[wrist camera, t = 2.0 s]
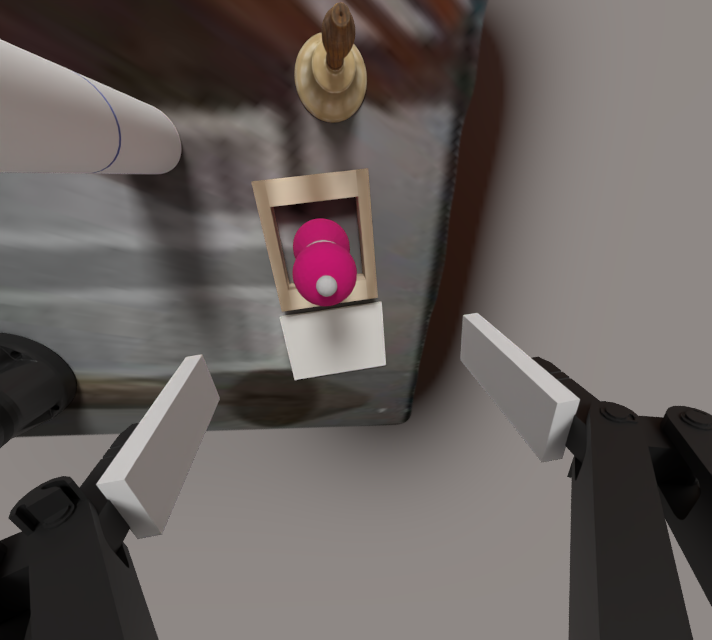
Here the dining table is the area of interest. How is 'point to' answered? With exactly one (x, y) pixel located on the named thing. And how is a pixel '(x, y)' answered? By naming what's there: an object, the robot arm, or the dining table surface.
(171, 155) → the cylindrical container
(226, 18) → the dining table surface
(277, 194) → the maple frame
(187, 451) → the robot arm
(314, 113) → the hand bell
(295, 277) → the pepper mill
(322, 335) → the plastic pad
